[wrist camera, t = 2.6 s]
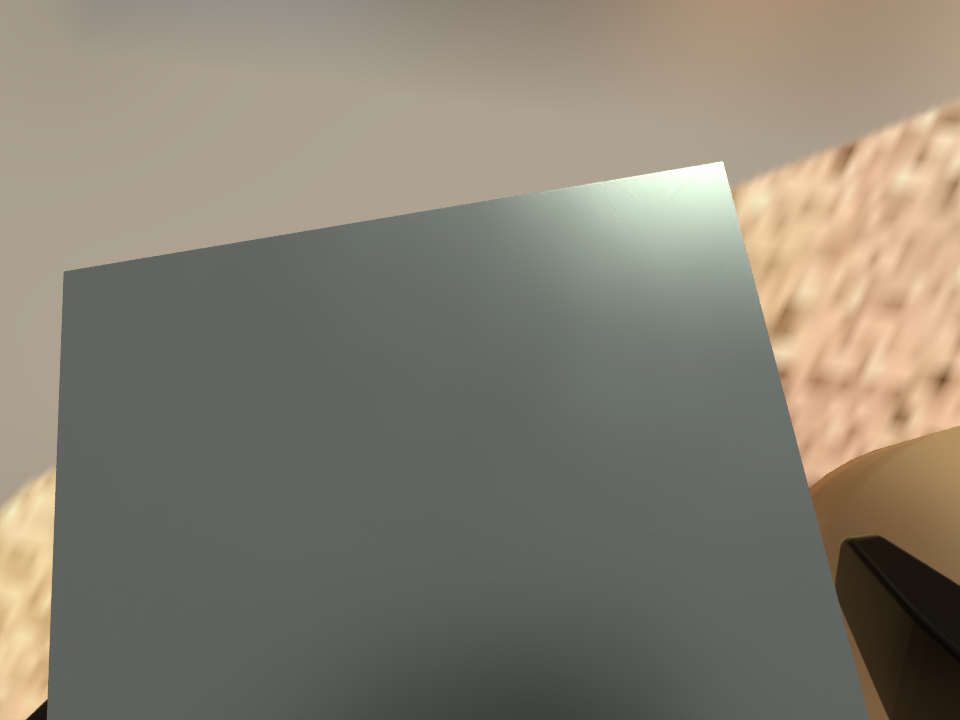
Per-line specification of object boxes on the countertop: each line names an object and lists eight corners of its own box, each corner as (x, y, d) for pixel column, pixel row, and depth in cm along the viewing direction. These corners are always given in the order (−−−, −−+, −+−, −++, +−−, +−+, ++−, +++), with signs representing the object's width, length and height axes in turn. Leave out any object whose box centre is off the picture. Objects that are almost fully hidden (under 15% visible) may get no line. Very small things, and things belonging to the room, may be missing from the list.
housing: (636, 649, 16) (942, 995, 4) (421, 677, 16) (32, 1085, 4) (597, 434, 18) (723, 162, 5) (399, 463, 18) (63, 271, 5)
